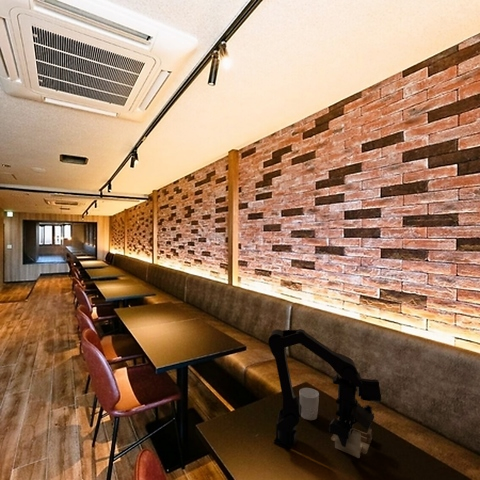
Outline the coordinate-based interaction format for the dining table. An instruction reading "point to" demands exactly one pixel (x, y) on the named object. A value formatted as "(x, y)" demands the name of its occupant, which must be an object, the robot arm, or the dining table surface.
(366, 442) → the rack
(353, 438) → the birch sheet
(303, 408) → the white cup
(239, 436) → the dining table surface
